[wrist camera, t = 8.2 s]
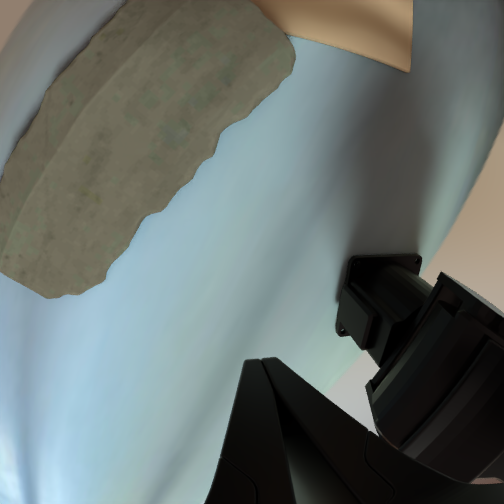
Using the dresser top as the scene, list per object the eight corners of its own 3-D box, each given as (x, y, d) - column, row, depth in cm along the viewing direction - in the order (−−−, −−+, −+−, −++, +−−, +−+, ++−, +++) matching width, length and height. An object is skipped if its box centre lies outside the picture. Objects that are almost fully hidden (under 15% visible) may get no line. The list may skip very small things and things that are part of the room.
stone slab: (297, 61, 17) (178, -41, 12) (316, 58, 14) (181, -60, 9) (82, 312, 21) (-24, 239, 16) (76, 337, 18) (-41, 258, 13)
